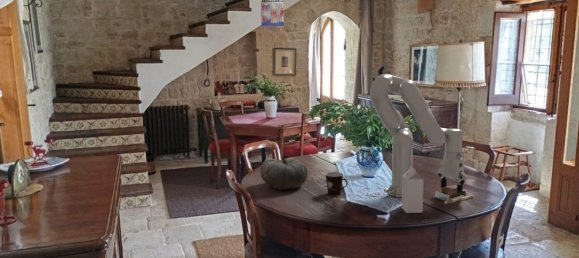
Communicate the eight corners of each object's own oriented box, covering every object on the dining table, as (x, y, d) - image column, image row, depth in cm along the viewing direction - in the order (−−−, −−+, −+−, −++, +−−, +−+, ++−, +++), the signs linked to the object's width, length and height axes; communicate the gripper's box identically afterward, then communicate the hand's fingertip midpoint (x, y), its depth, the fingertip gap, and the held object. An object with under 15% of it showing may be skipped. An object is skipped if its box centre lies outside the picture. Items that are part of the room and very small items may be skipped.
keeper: (447, 201, 203) (448, 195, 202) (434, 196, 210) (434, 190, 209) (467, 197, 208) (467, 191, 208) (454, 192, 216) (454, 186, 215)
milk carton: (417, 207, 195) (418, 166, 192) (422, 213, 188) (423, 170, 185) (401, 207, 195) (402, 166, 192) (406, 213, 188) (407, 170, 185)
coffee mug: (322, 192, 220) (322, 173, 218) (338, 190, 223) (338, 171, 221) (333, 199, 209) (333, 178, 208) (349, 196, 212) (349, 176, 211)
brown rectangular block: (460, 196, 210) (461, 186, 209) (448, 200, 205) (448, 189, 204) (453, 194, 213) (454, 184, 212) (441, 197, 209) (441, 187, 208)
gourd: (248, 181, 231) (254, 150, 229) (282, 180, 249) (287, 150, 247) (280, 196, 214) (287, 162, 212) (314, 193, 232) (320, 161, 230)
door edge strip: (445, 204, 199) (445, 201, 199) (444, 203, 200) (444, 201, 200) (473, 197, 207) (473, 195, 207) (471, 197, 208) (471, 195, 208)
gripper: (473, 157, 200) (471, 193, 203) (444, 150, 215) (443, 184, 218) (462, 159, 196) (460, 196, 199) (433, 152, 212) (432, 186, 214)
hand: (451, 189), depth 208 cm, fingers open, 9 cm apart
